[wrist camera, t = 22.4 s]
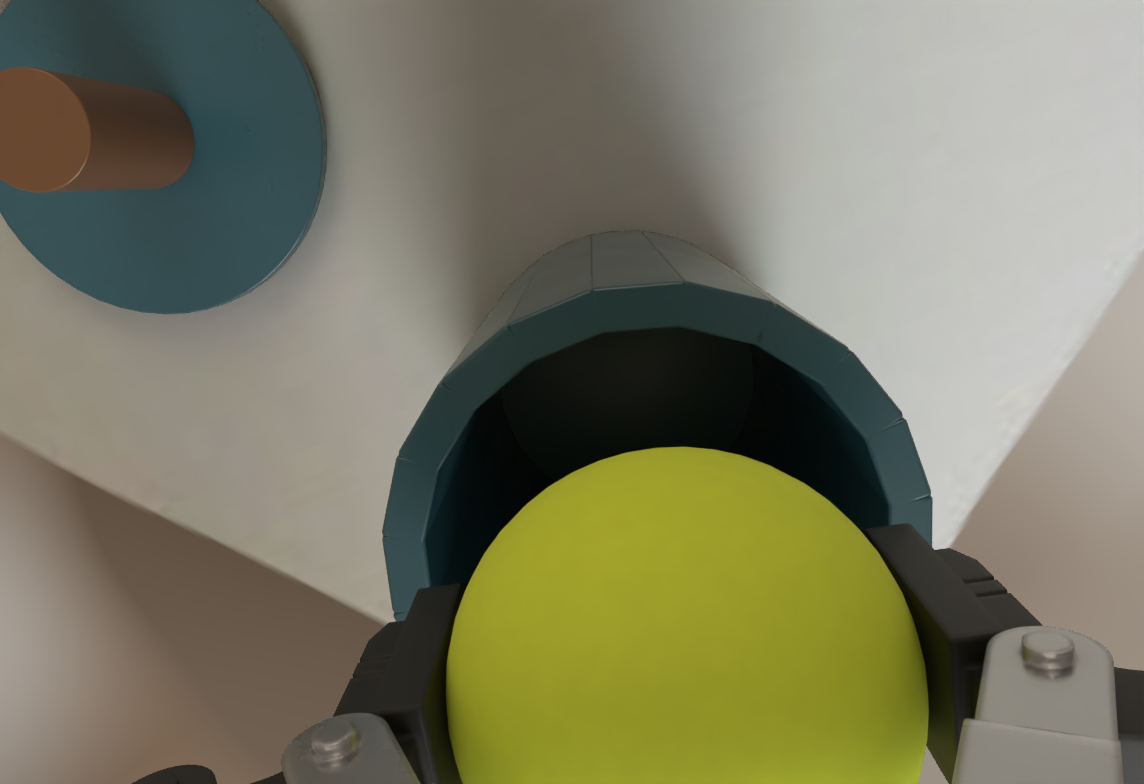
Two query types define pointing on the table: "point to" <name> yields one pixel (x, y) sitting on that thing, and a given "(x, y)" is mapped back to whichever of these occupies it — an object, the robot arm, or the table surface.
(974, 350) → the table surface
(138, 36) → the tube lid
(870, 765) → the tennis ball
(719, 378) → the tube
